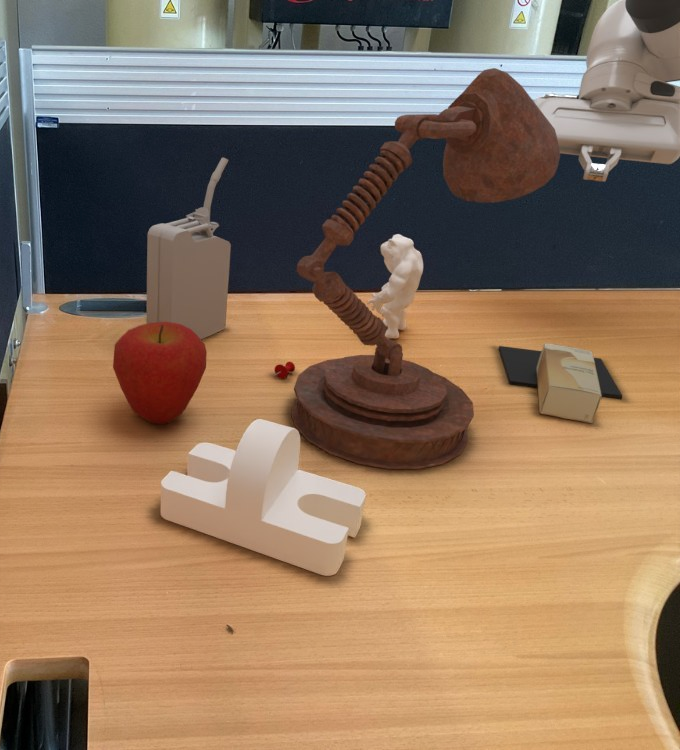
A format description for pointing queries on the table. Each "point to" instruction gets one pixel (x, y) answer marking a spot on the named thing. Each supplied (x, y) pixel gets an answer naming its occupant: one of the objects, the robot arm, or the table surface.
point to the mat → (524, 371)
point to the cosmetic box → (568, 383)
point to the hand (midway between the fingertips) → (595, 178)
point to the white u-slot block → (265, 499)
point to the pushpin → (284, 369)
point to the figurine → (398, 283)
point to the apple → (159, 369)
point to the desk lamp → (386, 368)
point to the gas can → (189, 270)
